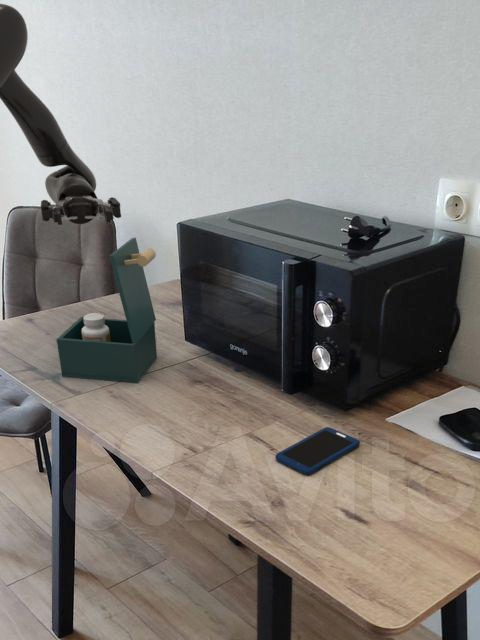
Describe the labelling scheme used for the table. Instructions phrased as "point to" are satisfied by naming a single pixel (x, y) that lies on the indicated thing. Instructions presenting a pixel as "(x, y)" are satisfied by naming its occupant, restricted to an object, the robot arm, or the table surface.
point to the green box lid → (134, 286)
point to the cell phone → (317, 450)
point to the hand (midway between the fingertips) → (84, 217)
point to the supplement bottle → (95, 328)
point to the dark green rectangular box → (106, 353)
